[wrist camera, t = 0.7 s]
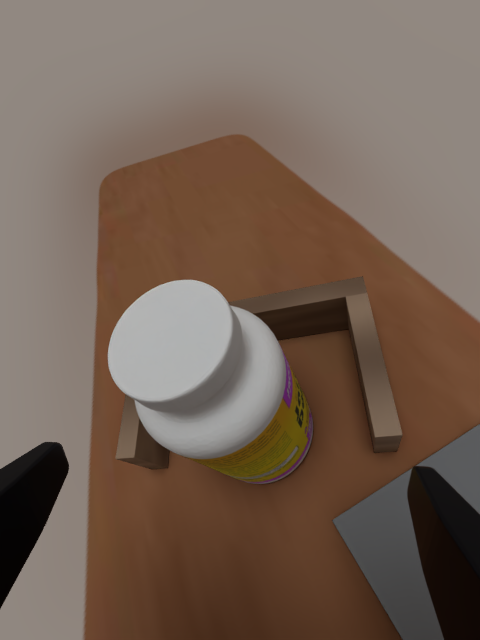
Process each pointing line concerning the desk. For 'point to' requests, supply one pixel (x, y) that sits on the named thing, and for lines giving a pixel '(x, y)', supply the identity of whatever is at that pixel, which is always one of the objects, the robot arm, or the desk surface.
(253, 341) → the supplement bottle
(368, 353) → the frame
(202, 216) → the desk surface
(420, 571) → the charcoal mat
